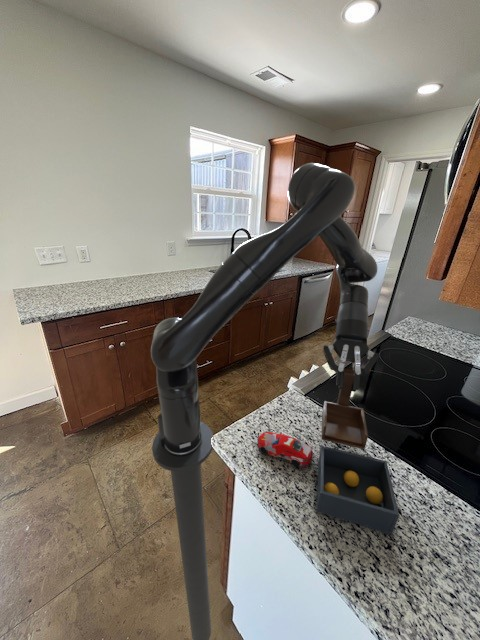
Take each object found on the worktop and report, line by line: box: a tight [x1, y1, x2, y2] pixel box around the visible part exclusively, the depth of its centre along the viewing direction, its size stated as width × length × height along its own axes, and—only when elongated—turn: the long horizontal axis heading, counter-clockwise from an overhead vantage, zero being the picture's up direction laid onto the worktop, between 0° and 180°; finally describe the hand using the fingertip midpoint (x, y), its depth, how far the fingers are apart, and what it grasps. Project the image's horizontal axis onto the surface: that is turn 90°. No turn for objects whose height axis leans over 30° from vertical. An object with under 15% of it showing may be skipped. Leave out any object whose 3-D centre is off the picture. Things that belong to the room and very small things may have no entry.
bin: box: [316, 445, 400, 535], centre depth 53 cm, size 13×11×6 cm
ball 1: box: [324, 483, 339, 495], centre depth 53 cm, size 3×3×3 cm
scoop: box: [321, 367, 369, 450], centre depth 62 cm, size 11×9×13 cm
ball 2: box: [344, 471, 359, 487], centre depth 55 cm, size 3×3×3 cm
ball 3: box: [366, 486, 383, 505], centre depth 52 cm, size 3×3×3 cm
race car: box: [257, 431, 314, 468], centre depth 63 cm, size 13×5×4 cm, turn 63°
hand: (347, 389), depth 63 cm, fingers closed on scoop, 2 cm apart
